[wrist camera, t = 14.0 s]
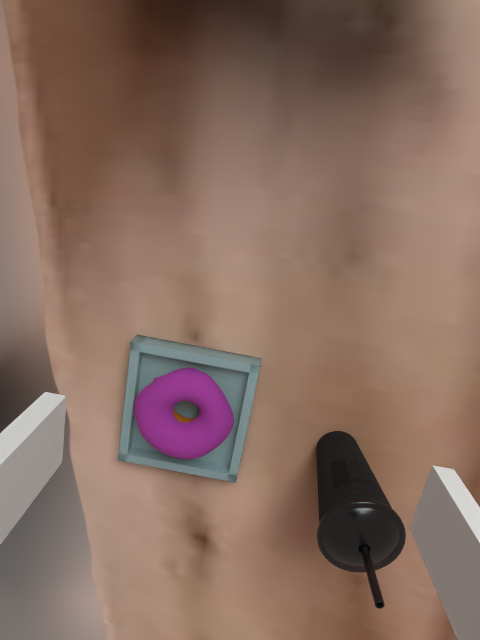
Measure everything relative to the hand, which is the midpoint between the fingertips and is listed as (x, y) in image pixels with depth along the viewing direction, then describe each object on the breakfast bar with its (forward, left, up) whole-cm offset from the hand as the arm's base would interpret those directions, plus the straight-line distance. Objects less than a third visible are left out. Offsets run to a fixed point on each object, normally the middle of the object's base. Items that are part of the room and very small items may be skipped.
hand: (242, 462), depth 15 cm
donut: (+16, -5, -31) cm, 35 cm away
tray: (+16, -5, -32) cm, 36 cm away
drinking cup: (+18, +13, -32) cm, 39 cm away
